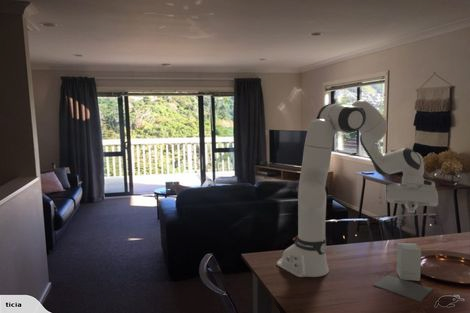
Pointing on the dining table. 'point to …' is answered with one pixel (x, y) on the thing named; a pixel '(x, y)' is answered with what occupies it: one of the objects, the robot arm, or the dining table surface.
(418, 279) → the supplement box
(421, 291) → the mat
